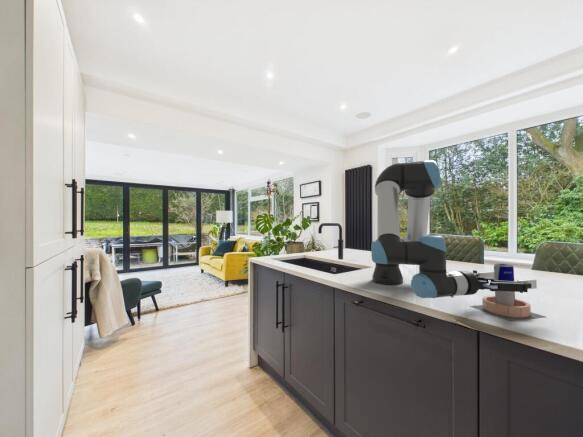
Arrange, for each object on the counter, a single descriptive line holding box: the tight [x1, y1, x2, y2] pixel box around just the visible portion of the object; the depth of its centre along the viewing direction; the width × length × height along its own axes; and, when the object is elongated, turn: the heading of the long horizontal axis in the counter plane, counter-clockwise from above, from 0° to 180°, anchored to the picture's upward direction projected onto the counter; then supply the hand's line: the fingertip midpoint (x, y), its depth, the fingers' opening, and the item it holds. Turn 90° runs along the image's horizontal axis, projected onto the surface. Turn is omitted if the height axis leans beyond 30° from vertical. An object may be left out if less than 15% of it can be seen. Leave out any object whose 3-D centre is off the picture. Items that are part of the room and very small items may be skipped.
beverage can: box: [493, 263, 516, 306], centre depth 84 cm, size 5×5×15 cm
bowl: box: [482, 295, 532, 318], centre depth 84 cm, size 12×12×3 cm
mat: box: [469, 304, 547, 322], centre depth 84 cm, size 14×14×1 cm
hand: (513, 279), depth 85 cm, fingers open, 12 cm apart
